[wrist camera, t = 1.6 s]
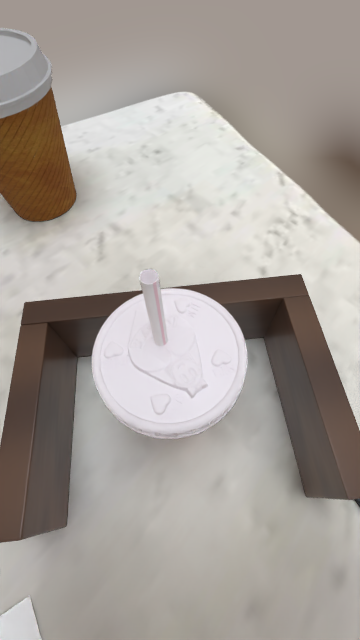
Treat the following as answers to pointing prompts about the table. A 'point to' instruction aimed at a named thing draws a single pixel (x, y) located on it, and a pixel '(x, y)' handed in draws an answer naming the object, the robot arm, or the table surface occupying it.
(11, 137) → the disposable coffee cup
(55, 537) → the table surface
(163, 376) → the smoothie
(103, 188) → the table surface
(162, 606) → the table surface
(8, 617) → the napkin holder
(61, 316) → the frame
